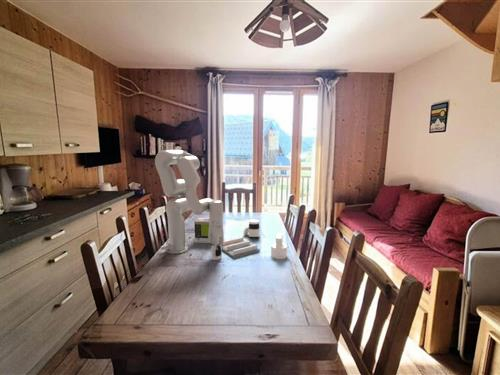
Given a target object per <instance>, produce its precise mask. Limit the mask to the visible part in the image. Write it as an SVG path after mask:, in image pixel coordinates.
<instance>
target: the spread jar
mask: <svg viewBox="0 0 500 375" xmlns="http://www.w3.org/2000/svg"><path fill="white" fill-rule="evenodd" d="M248 221H249V222H248V225H247V226H246V227H245V228H244V229H243V231H242V232H243V233H242V234H243V235H244V236H247V235H248V238H249V239H252V238H256V239H259V238H260V230H261V229H260V227H261V226H260V220H258V219H250V220H248Z"/></svg>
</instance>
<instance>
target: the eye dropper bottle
mask: <svg viewBox="0 0 500 375" xmlns="http://www.w3.org/2000/svg"><path fill="white" fill-rule="evenodd" d="M218 246H219V245H218ZM210 247H211V250H210V252H211V254H210V255H211V256H210V257H211V259H212V261H219V260H221V259H223V258H222V257H223V255H222V254H223V251H222V249H221V256H217V257H216V245H212V244H211V246H210Z"/></svg>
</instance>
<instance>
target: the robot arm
mask: <svg viewBox="0 0 500 375" xmlns="http://www.w3.org/2000/svg"><path fill="white" fill-rule="evenodd" d="M154 165H155V168H156V171H157V173H158V175H159V178H160V182H161V187H162V190H163V193H164V195H165V196H166V197H169V198H172V197H174V198H172V199H170V200H168V201H167V202H166V204H165V212H166V216H167V225H168V226H167V228H168V231H167V232H168V242H167V244H166V245H161V246H160V250H164V251H166V252H167V253H168V254H171V255H176V254H177V255H179V254H183V253H186V252H187V251H188V250H189V246H188V245H186V224H185V223H186V222H185V217H184V215H183V213H187V212H188V211H191V212H192V213H193V214H194V215H196V216H200V215H202V214H205V213H208V218H209V234H208V240H209V241H210V242H211V243H210V244H211V246H212V245H216V257H217V256H221V249H222V247H223V242H224V241H225V240H224V227H223V226H224V202H223V200H220V199H213V198H210V197H209V198H208V197H206V198H205V197H204V198H202V199H199V198H198V195H197V187H198V185H199V184H200V182H201V177H200V176H199V174H198V171H197V170H198V169H199V168H200V165H201V163H200V160H199V158H198V157H197V156H196V155H193V154H191V153H188V152H187V151H185V150H182V149H164V150H160V151H159V152H158V153H157V154H156V155H155V158H154ZM170 165H176V166H177V169H178V171H179V173H180V175H181V177H182V178H183V179H182V178H179V179H178V178H177V177H176V174H175V172H174V170H173V168H172V167H171V166H170ZM175 197H176V198H175ZM218 245H219V246H218Z"/></svg>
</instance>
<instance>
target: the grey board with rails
mask: <svg viewBox="0 0 500 375" xmlns="http://www.w3.org/2000/svg"><path fill="white" fill-rule="evenodd" d="M260 250H261V249H260V248H258V244H251V241H250V240H244V237H243V236H240V237H236V238H232V239H227V240H224V242H223V247H222V253H225V254H226V255H228V256H229V257H230V258H232V259H233V260H236V259H239V258H243V257H245V256H249V255H252V254H256V253H259V252H260Z"/></svg>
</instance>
